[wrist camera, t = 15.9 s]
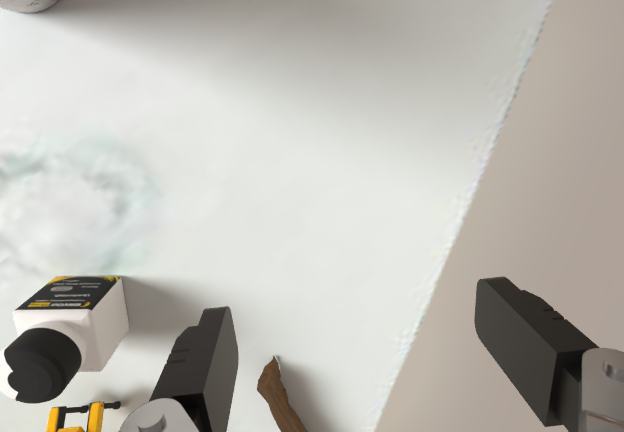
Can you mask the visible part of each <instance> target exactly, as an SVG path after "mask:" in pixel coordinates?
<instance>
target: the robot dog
mask: <svg viewBox="0 0 624 432" xmlns="http://www.w3.org/2000/svg"><path fill="white" fill-rule="evenodd" d="M107 408H113V409H119V408H120V402H114V403H104V402H94V403H90V409H89V416H88V424H87V432H101V428H102V420H103V411H104V409H107ZM87 411H88V406H82V407H72V408H67V407H66V406H64V407H54V408H52V409H51V411H50V414H49V419H48V424H47V430H46V432H85V431H84V430H83V428H82V427H80V426H79V427H71V428H64V422H65V415H66V413H76V412H80V413H86V412H87Z"/></svg>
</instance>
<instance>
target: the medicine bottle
mask: <svg viewBox="0 0 624 432" xmlns="http://www.w3.org/2000/svg"><path fill="white" fill-rule="evenodd" d="M13 318H14V321H15V325H16V329H17V332H18V336H17V337H16V338H15V339H14V340H13V341H12V342H11V343H10V344H9V345H7V346H6V347H5V348H4V349H3V350H2V351H1V352H0V391H1V392H3V393H4V394H5V395H7V396H8V397H10V398H12V399H14V400H17V401H20V402H24V403H42V402H46V401H50V400H52V399H54V398H56V397H57V396H59V395H60V394H61V393H62V392H63V390H64V389H65V388H66V386H67V385H68V384H69V382H70V381H71V380H72V378H73V377H74V376H75V374H76V373H77V372H95V371H101V370H102V369H103V368H104V367H105V365H106V364H107V362H108V361H109V359H110V358H111V356H112V355H113V353H114V352H115V350H116V349H117V347H118V346H119V344H120V343H121V341H122V339H123V338H124V336H125V335H126V333H127V332H128V330H129V322H128V316H127V309H126V303H125V297H124V291H123V285H122V279H121V277H120V276H58V277H55V278H54V279H53V280H51V281H50V282H49V283H48V284H46V285H45V286H44V287H43V288H42V289H40V290H39V291H38V292H37V293H35V294H34V295H33V296H32V297H31V298H29V299H28V300H27V301H26V302H24V303H23V304H22V305H21V306H20V307H18V308H17V309H16V310H15V311H14V312H13Z"/></svg>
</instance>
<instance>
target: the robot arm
mask: <svg viewBox="0 0 624 432" xmlns="http://www.w3.org/2000/svg"><path fill="white" fill-rule="evenodd" d="M57 1H58V0H0V8H3V9H7V10H11V11H16V12H21V13H34V12H38V11H42V10H45V9H47V8H49V7H50V6H52V5H54V4H55V3H56V2H57ZM475 328H476V332H477V334H478V337H479V339H480V340H481V342H482V343H483V344H484V346H485V347H486V348H487V350H488V351H489V352H490V354H491V355H492V356H493V358H494V359H495V360H496V362H497V363H498V364H499V366H500V367H501V369H502V370H503V371H504V373H505V374H506V375H507V376H508V378H509V379H510V381H511V382H512V383H513V384H514V386H515V387H516V389H517V390H518V391H519V393H520V394H521V395H522V397H523V398H524V399H525V401H526V402H527V403H528V405H529V406H530V407H531V409H532V410H533V411H534V413H535V414H536V415H537V417H538V418H539V419H540V421H541V422H542V423H543V425H544V426H545V427H547V426H557V425H564V426H565V427H566V428H567V430H568V432H624V352H622V351H618V350H614V349H608V348H599V347H598V346H597V345H596V344H595V343H593V342H592V341H591V340H590V339H589V338H588V337H586V336H585V335H584V334H583V333H582V332H580V331H579V330H578V329H577V328H576V327H574V326H573V325H572V324H571V323H570V322H569V321H568V320H564V317H563V316H562V315H560V314H559V313H558V312H557V311H554V309H553V308H552V307H551V306H550V305H548V304H547V303H546V302H545V301H544V300H543V299H541V298H540V297H538V296H536V295H534V294H531V293H529V292H527V291H525V290H520V289H519V288H518V287H516V286H515V285H514V284H513V283H512V282H511V281H510V280H509V279H507V278H506V277H495V278H487V279H480V280H479V281H478V283H477V291H476V306H475ZM237 369H238V347H237V341H236V336H235V331H234V326H233V320H232V315H231V311H230V308H229V307H228V306H227V307H218V308H209V309H204V311H203V314H202V316H201V319H200V322H199V324H198V326H192V327H188V328H187V329H186V330H185V331H184V332H183V333H182V334H181V335H180V336H179V337H178V338H177V339H176V341H175V344H174V346H173V348H172V350H171V353H170V355H169V357H168V360H167V364H165V366H164V369H163V371H162V373H161V375H160V378H159V380H158V382H157V385H156V387H155V389H154V391H153V394H152V396H151V398H150V400H149V402H148V403H146V404H144V405H142V406H140V407H139V408H137V409H136V410H135V411H133V412H132V413H131V414H130V415H129V416H128V417H127V418H126V420H125V421H124V422H123V424H122V426H121V428H120V431H119V432H226V431H227V425H228V419H229V414H230V408H231V403H232V397H233V392H234V386H235V380H236V375H237Z"/></svg>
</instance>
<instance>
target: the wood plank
mask: <svg viewBox="0 0 624 432" xmlns="http://www.w3.org/2000/svg"><path fill="white" fill-rule="evenodd" d="M278 364H279V363H278V362H277V360H276V358H275V357H274V355H273V360H272V361H271V362H270V363H269V364H267V365H266V366H265V367H264V370H263V372H262V375H261V376H260V379H259V380H258V387H257V391H258V392H259V393H260V394H261V395H262V396H263V398H264V399H265V400H266V401H267V403H268V404H269V407H270V410H271V413H272V415H273V417H274V419H275V421H276V423H277V425H278V427H279V429H280V430H281V432H307V431H306V429H305V427H304V426H303V424H302V423H301V421H300V419H299V417H298V416H297V414H296V413H295V411H294V410H293V409H292V408H291V406H290V404H289V403H288V397H287V393H286V389H285V388H284V387H283V385H282V383H281V380H280V370H279V366H278Z"/></svg>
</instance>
